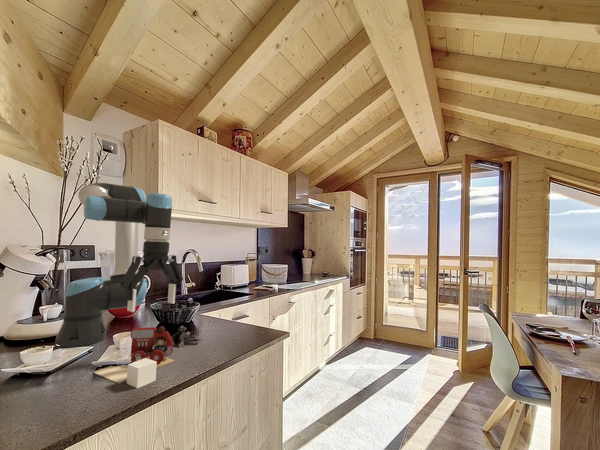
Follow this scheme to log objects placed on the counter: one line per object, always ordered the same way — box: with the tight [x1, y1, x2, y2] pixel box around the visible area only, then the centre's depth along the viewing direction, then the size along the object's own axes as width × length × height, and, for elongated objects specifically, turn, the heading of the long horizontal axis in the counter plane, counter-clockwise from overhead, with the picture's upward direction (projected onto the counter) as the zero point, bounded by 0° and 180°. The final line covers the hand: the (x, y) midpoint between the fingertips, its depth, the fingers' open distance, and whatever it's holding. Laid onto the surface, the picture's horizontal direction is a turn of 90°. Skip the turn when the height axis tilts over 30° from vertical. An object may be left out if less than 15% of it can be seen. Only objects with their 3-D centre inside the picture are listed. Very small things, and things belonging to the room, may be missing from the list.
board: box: [92, 356, 176, 385], centre depth 83 cm, size 13×17×1 cm
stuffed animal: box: [165, 325, 203, 349], centre depth 105 cm, size 12×10×12 cm
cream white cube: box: [126, 358, 157, 389], centre depth 74 cm, size 5×5×5 cm
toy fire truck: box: [130, 325, 174, 364], centre depth 87 cm, size 7×12×10 cm, turn 103°
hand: (152, 306), depth 88 cm, fingers open, 13 cm apart
